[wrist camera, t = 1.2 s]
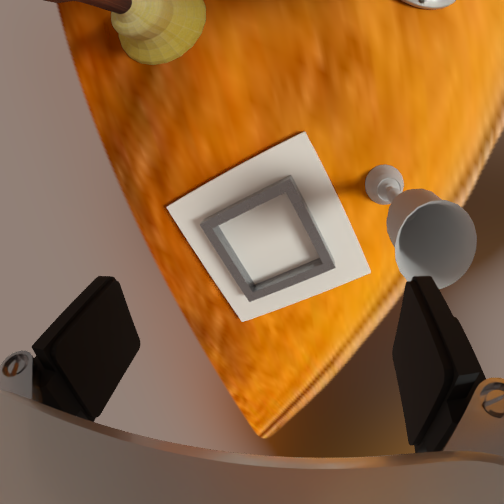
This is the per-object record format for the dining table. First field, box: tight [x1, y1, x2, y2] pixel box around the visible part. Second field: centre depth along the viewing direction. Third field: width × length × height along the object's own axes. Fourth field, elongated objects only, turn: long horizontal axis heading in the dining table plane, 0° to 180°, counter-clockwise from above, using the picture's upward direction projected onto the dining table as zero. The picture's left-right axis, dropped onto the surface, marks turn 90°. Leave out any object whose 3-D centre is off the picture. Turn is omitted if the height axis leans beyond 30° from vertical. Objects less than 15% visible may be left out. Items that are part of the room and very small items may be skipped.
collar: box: [200, 175, 336, 302], centre depth 40 cm, size 12×12×2 cm
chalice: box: [365, 165, 477, 289], centre depth 28 cm, size 7×7×18 cm
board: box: [166, 131, 371, 322], centre depth 41 cm, size 20×20×1 cm
